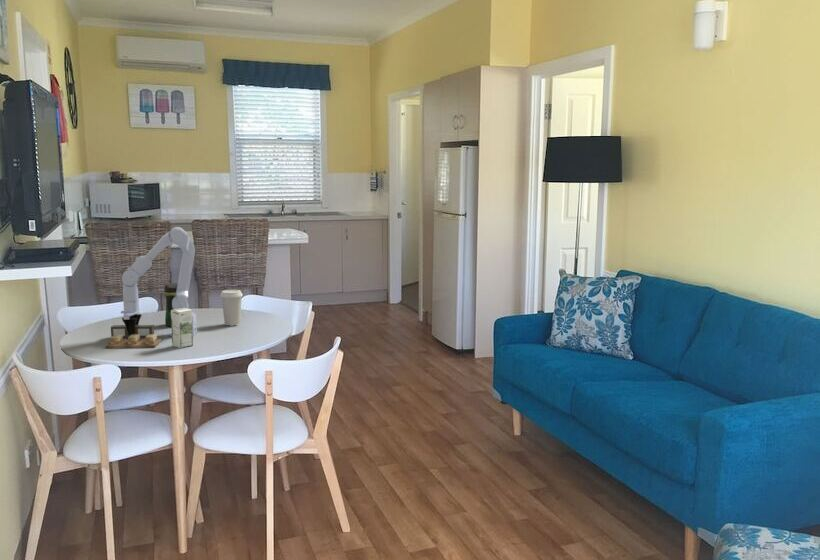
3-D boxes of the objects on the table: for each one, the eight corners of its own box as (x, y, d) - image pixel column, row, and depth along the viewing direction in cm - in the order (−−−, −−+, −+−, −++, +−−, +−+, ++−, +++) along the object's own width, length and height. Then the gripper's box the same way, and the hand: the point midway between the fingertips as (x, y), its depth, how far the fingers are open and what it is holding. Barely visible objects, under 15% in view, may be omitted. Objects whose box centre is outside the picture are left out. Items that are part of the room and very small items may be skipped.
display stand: (161, 341, 271) (161, 332, 271) (154, 347, 261) (154, 338, 261) (114, 342, 270) (114, 333, 269) (105, 348, 260) (105, 339, 259)
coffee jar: (166, 327, 295) (164, 285, 292) (164, 324, 302) (162, 282, 299) (190, 325, 299) (188, 283, 297) (187, 322, 306) (185, 281, 304)
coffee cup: (246, 322, 306) (245, 289, 304) (239, 327, 297) (238, 293, 295) (225, 322, 307) (224, 289, 305) (217, 326, 298) (216, 292, 295)
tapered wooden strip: (154, 336, 279) (153, 324, 278) (152, 338, 276) (151, 326, 275) (113, 337, 278) (113, 325, 277) (111, 339, 275) (110, 326, 274)
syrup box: (185, 343, 268) (183, 307, 266) (193, 345, 265) (192, 309, 262) (171, 346, 264) (170, 309, 262) (180, 348, 260) (178, 311, 258)
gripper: (126, 297, 281) (128, 329, 283) (114, 303, 267) (116, 337, 269) (144, 297, 282) (145, 329, 284) (133, 303, 268) (135, 337, 270)
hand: (132, 333), depth 277 cm, fingers closed on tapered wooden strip, 3 cm apart
